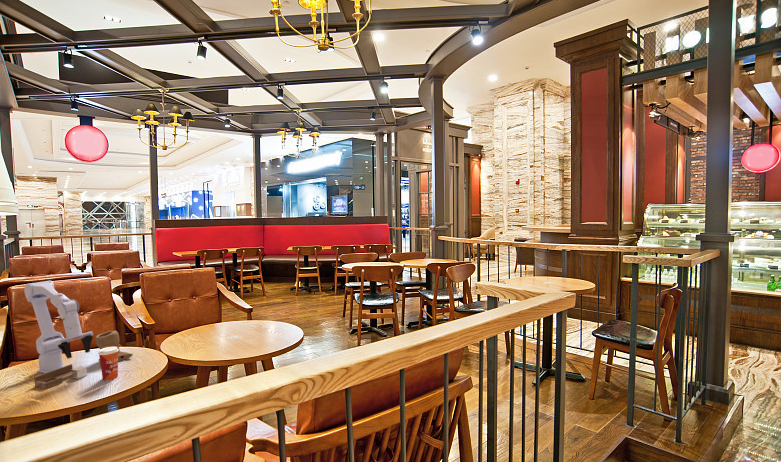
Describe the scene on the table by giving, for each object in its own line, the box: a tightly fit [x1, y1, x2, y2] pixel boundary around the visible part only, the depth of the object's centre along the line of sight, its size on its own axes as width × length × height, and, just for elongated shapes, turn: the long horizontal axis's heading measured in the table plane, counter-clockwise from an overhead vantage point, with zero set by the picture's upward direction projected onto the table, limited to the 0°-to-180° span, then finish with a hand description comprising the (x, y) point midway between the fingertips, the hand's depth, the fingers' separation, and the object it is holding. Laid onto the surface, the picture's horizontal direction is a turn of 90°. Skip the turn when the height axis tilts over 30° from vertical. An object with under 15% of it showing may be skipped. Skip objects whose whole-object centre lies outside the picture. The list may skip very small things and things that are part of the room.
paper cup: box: [97, 347, 120, 381], centre depth 178 cm, size 8×8×14 cm
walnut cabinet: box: [33, 363, 86, 390], centre depth 176 cm, size 10×15×5 cm
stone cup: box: [94, 330, 134, 362], centre depth 200 cm, size 15×12×15 cm
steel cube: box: [71, 365, 88, 380], centre depth 180 cm, size 4×4×4 cm
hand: (78, 355), depth 179 cm, fingers open, 7 cm apart
